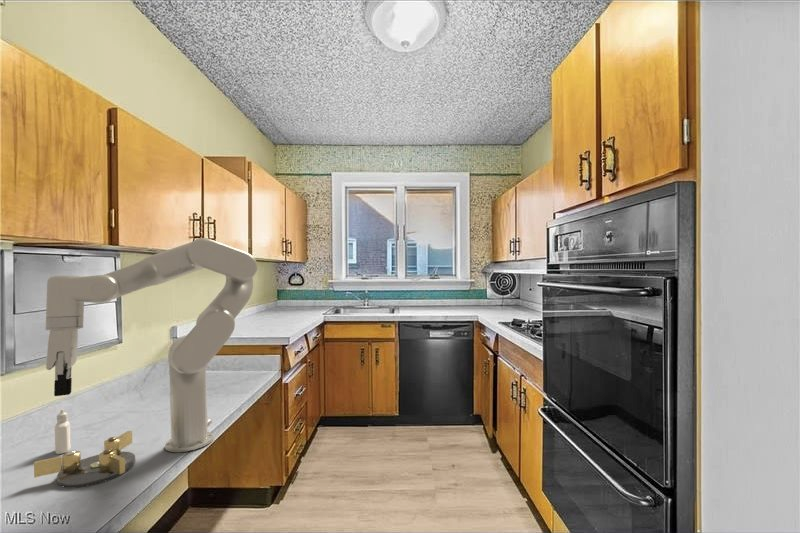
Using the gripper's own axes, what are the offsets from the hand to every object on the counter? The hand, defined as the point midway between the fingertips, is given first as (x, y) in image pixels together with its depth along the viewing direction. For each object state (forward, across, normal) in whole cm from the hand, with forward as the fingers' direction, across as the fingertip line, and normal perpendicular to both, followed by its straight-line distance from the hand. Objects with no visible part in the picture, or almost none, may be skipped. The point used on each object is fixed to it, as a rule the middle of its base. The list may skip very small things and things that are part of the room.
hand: (62, 394), depth 104 cm
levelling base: (+20, +4, +8) cm, 22 cm away
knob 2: (+18, -3, +12) cm, 22 cm away
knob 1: (+18, +4, 0) cm, 19 cm away
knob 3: (+18, +11, +12) cm, 24 cm away
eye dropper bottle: (+20, -18, -2) cm, 27 cm away
